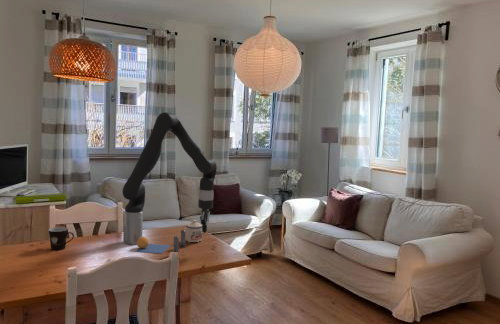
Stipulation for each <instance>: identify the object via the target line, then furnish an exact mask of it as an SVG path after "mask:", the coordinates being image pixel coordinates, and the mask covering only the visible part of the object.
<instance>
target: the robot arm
mask: <svg viewBox="0 0 500 324" xmlns="http://www.w3.org/2000/svg"><path fill="white" fill-rule="evenodd" d="M155 119H156V120H155V121H154V124H153V127H152V129H151V133H150V134H149V137H148V139H147V141H146V144H145V145H144V148H143V150H142V151H141V154H140V155H139V158H138V159H137V162H136V163H135V166H134V168H133V170H132V172H131V173H130V175H129V177H128V178H127V180H126V182H125V184H124V185H123V187H122V196H123V197H124V198H125V200H129V201H128V202H127V204H126V205H125V208H124V225H123V227H122V229H123V230H122V231H123V233H122V243H123V244H126V245H137V240H138V239H139V238H140V237H143V229H144V228H143V226H144V225H143V221H144V219H143V217H144V216H143V215H144V212H143V211H144V207H145V201H146V188H145V185H144V183H143V181H144V179H145V178H146V177H147V176H148V175H149V174H150V173H151V171H152V170H153V169H154V168H155V166H156V165H157V163H158V161H159V159H160V156H161V155H162V145H163V140H164V139H165V136H166V135H167V133H168V132H171V133H172V134H174V136H175V137H176V138H177V139H178V141H179V142H180V145H181V148H183V150H184V152H185V153H186V154H187V155H188V157H190V159H192V161H193V163H194V165H195V167H196V168H197V170H198V171H199V172H200V173H202V177H201V178H200V181H199V190H198V204H197V205H198V206H197V207H198V209H201V211H200V216H199V220H200V224H201V225H202V233H204V232H206V233H207V231H208V224H209V222H210V214H211V211H210V209H213V208H214V196H215V194H214V186H215V179H216V173H217V168H218V166H217V163H216V161H215V160H214V159H212V158H207V157H206V156H205V154H204V153H205V151H204V150H203V149H202V147H200V146H199V144H198V143H197V142H196V141H195V140H194V139H193V137H191V135H190V134H189V132H188V130H187V129H186V128H185V127H184V125H183V124H182V123H183V122H181V120H180V119H179V117H178V115H176V114H175V113H172V112H161V113H159V114H158V116H156V118H155Z"/></svg>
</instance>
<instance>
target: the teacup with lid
mask: <svg viewBox="0 0 500 324" xmlns="http://www.w3.org/2000/svg"><path fill="white" fill-rule="evenodd" d="M206 233H207V232H202V225H201V222H198V221H197V220H195V219H194V220H192V221H191V222H190V223H187V224H186V237H185V241H186V242H187V241H188V242H187V243H190V242H198V243H200V242H199V241H201V240H202V241H203V236H204V235H206ZM202 241H201V242H202Z"/></svg>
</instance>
